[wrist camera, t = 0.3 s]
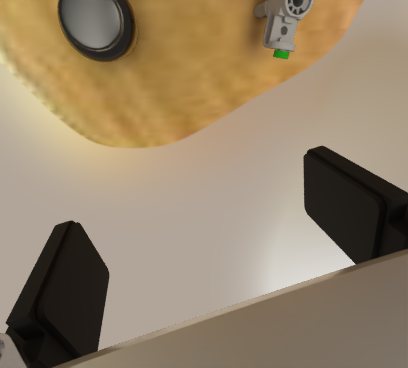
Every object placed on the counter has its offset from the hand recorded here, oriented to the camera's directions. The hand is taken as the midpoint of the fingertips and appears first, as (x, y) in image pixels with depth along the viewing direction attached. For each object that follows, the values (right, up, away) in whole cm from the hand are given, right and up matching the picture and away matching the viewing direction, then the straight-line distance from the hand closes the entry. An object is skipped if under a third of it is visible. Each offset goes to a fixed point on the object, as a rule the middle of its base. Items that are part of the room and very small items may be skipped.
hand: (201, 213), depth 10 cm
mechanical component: (+7, +24, +23) cm, 34 cm away
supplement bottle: (-11, +20, +20) cm, 31 cm away
